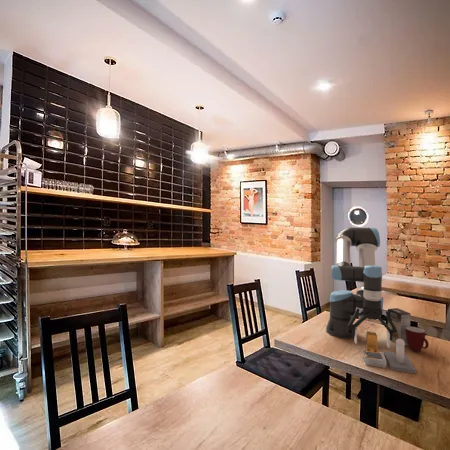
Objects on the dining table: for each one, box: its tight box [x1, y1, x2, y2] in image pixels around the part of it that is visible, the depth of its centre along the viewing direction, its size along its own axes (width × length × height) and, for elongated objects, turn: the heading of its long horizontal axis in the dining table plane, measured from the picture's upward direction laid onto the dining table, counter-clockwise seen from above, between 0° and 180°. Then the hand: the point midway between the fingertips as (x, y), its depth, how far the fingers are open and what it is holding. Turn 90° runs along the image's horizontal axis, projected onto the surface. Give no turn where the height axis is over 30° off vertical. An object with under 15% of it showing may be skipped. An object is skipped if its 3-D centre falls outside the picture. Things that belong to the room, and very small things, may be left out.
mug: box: [406, 326, 430, 353], centre depth 140 cm, size 10×8×10 cm
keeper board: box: [383, 339, 416, 374], centre depth 127 cm, size 15×9×12 cm, turn 162°
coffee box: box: [386, 307, 412, 346], centre depth 152 cm, size 9×6×16 cm
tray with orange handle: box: [362, 331, 387, 369], centre depth 131 cm, size 14×8×10 cm, turn 162°
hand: (371, 344), depth 135 cm, fingers open, 13 cm apart
